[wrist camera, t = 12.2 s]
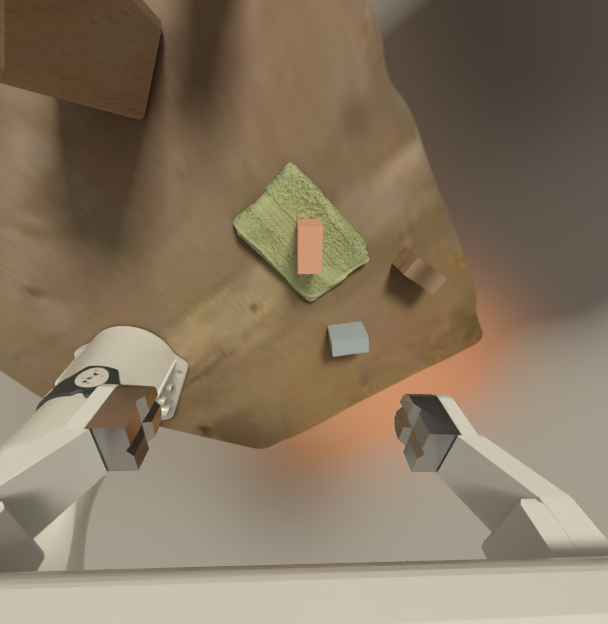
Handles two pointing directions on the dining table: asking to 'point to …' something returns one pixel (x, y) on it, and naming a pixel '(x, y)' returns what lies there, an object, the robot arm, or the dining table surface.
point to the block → (81, 51)
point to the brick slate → (348, 339)
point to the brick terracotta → (309, 246)
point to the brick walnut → (419, 271)
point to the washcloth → (283, 233)
